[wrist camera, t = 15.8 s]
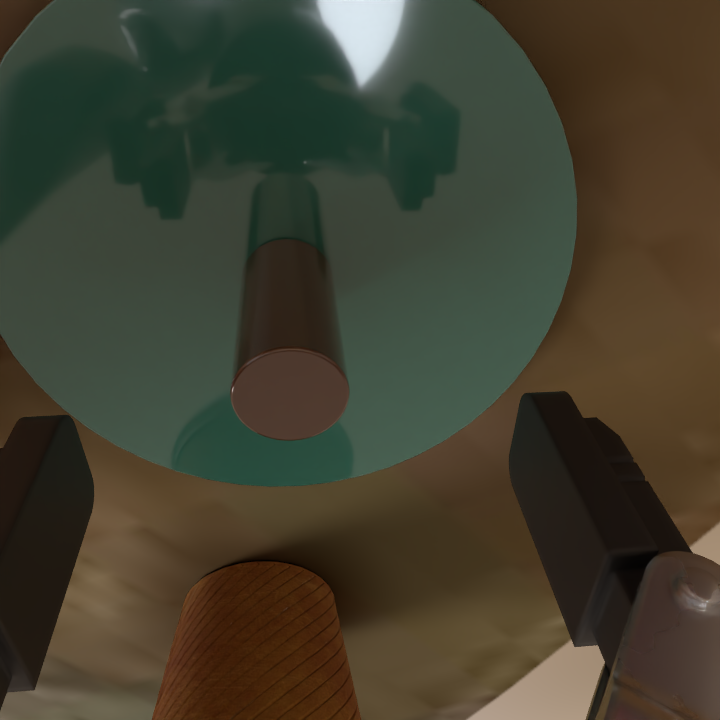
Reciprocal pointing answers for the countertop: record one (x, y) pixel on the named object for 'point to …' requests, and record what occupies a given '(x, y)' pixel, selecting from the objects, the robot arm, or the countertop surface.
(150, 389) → the lid
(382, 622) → the countertop surface
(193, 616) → the disposable coffee cup
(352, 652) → the countertop surface
